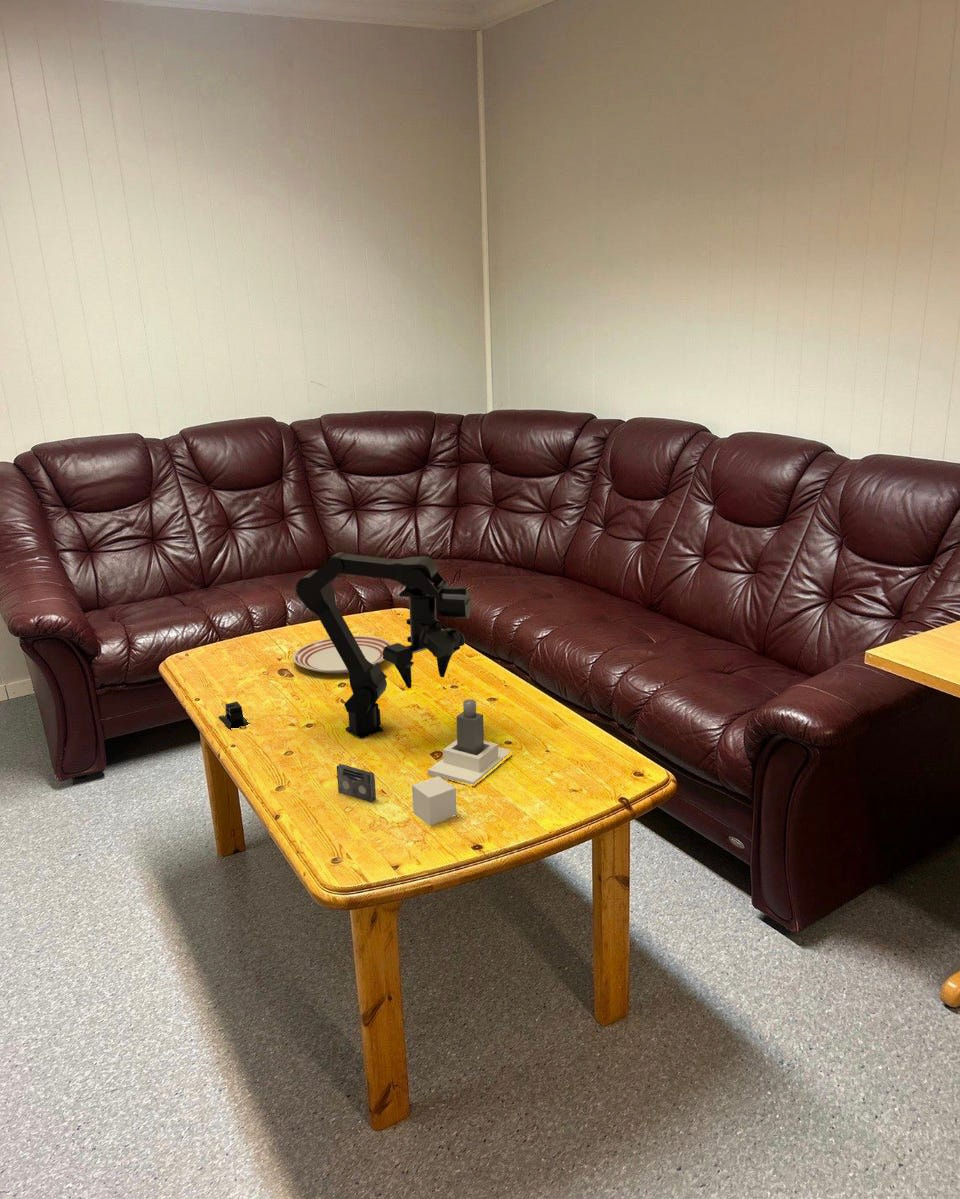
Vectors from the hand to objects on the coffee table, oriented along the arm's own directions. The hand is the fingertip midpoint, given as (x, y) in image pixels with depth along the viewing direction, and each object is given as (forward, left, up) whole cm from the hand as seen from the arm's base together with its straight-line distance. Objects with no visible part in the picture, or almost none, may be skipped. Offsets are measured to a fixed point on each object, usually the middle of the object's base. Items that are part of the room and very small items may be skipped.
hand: (425, 682), depth 206 cm
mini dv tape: (-27, -12, -13) cm, 32 cm away
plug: (-2, -17, -12) cm, 21 cm away
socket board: (-2, -17, -13) cm, 22 cm away
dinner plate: (+12, +53, -13) cm, 56 cm away
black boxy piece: (-29, +38, -14) cm, 49 cm away
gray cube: (-20, -28, -13) cm, 37 cm away
